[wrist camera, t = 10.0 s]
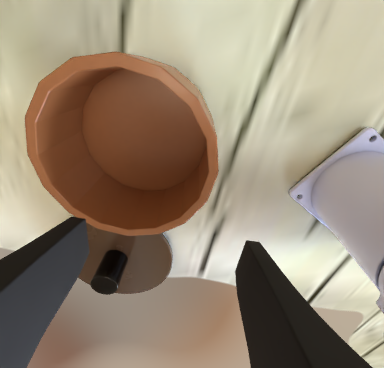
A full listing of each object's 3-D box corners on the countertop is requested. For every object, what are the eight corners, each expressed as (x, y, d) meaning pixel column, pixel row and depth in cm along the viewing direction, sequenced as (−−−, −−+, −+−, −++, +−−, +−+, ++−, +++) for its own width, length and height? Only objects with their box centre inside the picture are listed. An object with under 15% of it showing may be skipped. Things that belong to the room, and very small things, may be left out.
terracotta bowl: (241, 126, 17) (258, 152, 12) (161, 213, 22) (149, 258, 17) (121, 18, 14) (75, -10, 9) (56, 144, 19) (0, 174, 13)
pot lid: (195, 246, 24) (194, 282, 20) (136, 298, 28) (126, 335, 24) (95, 184, 20) (70, 212, 16) (48, 254, 25) (19, 289, 21)
